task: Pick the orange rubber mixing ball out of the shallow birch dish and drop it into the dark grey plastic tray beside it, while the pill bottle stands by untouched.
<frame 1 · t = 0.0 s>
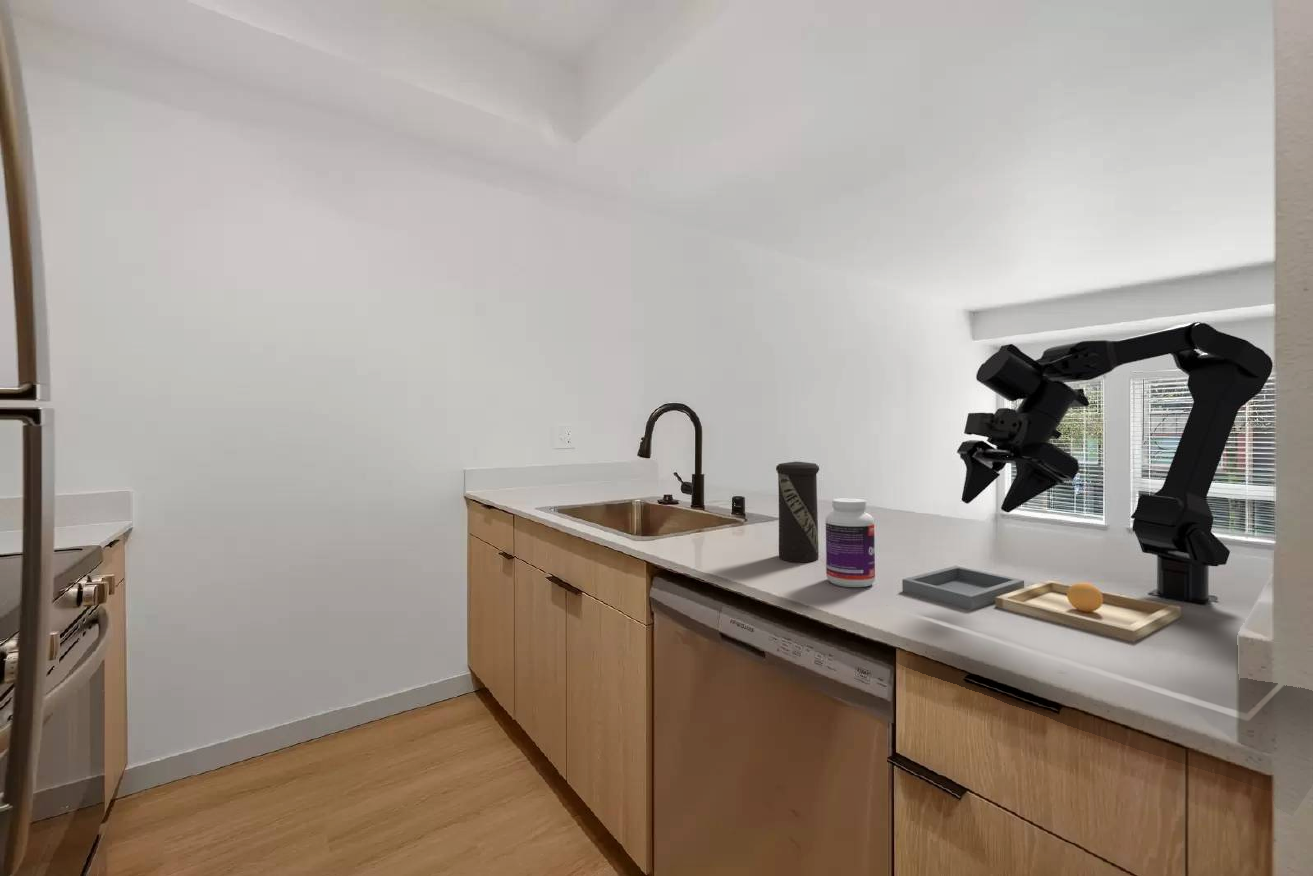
hand: (983, 506, 82), 15 cm above the countertop, tool tilted 35°, fingers open, 9 cm apart
dish: (1084, 614, 77), on the countertop
container: (798, 558, 113), on the countertop
pill bottle: (850, 583, 95), on the countertop
tray: (962, 594, 87), on the countertop
ball: (1084, 611, 77), resting on dish
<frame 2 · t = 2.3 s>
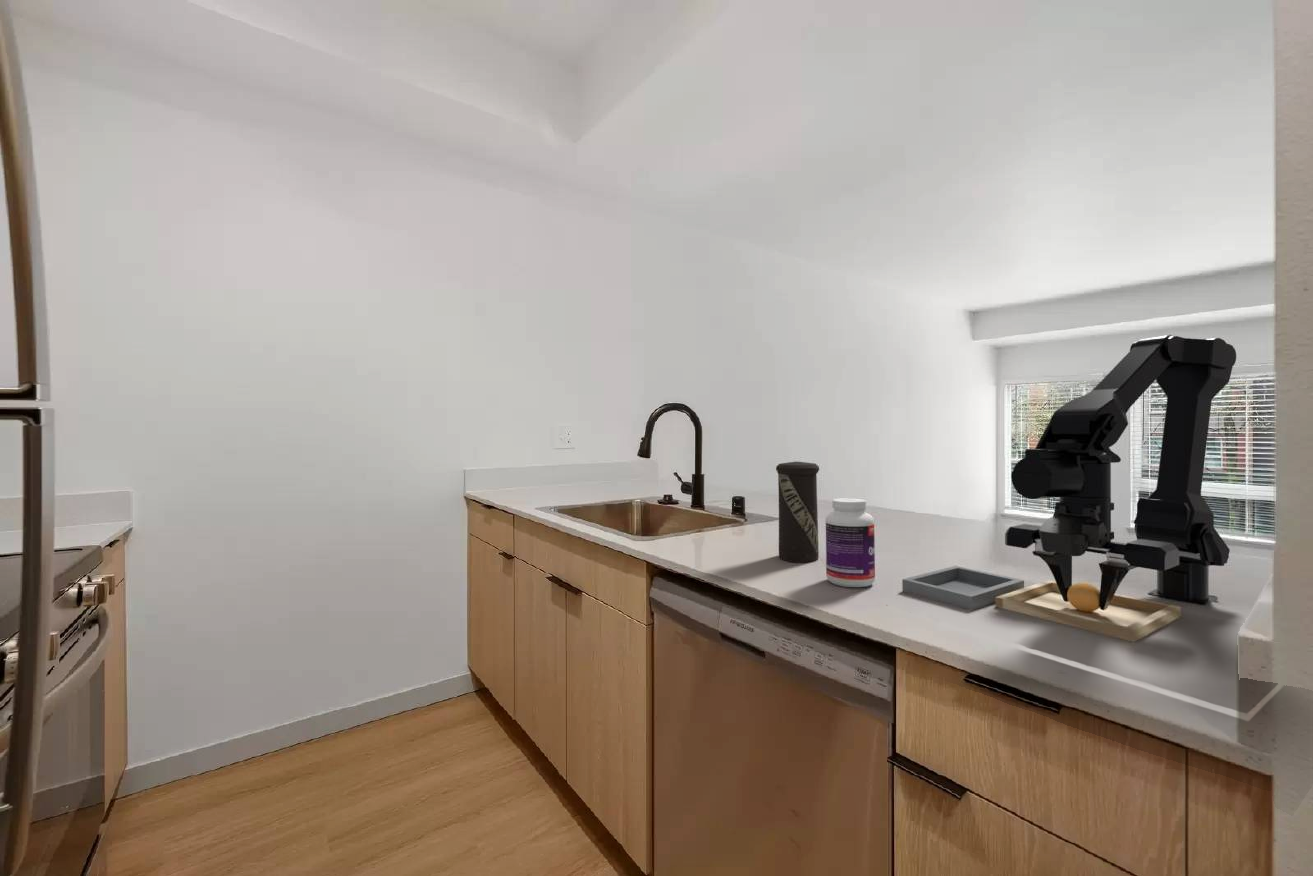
hand: (1084, 605, 77), 1 cm above the countertop, tool pointing down, fingers closed on ball, 4 cm apart
ball: (1084, 611, 77), resting on dish, touching gripper
everything else where it was.
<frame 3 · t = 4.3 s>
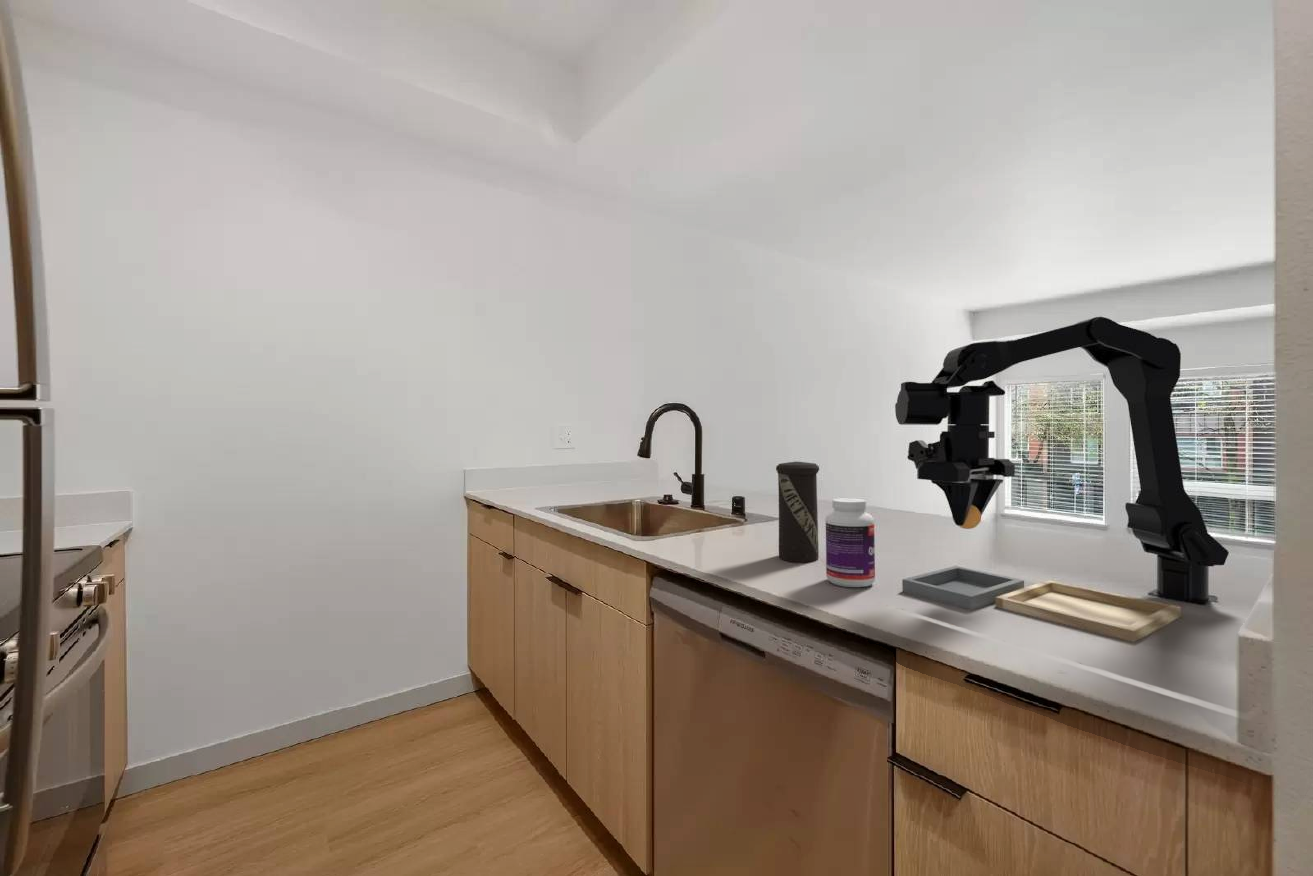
hand: (966, 523, 86), 11 cm above the countertop, tool pointing down, fingers closed on ball, 4 cm apart
ball: (966, 528, 86), point 11 cm above the countertop, touching gripper
everything else where it was.
when the fingers open (3 cm above the countertop, at t = 6.3 s): ball drops 2 cm, resting on tray.
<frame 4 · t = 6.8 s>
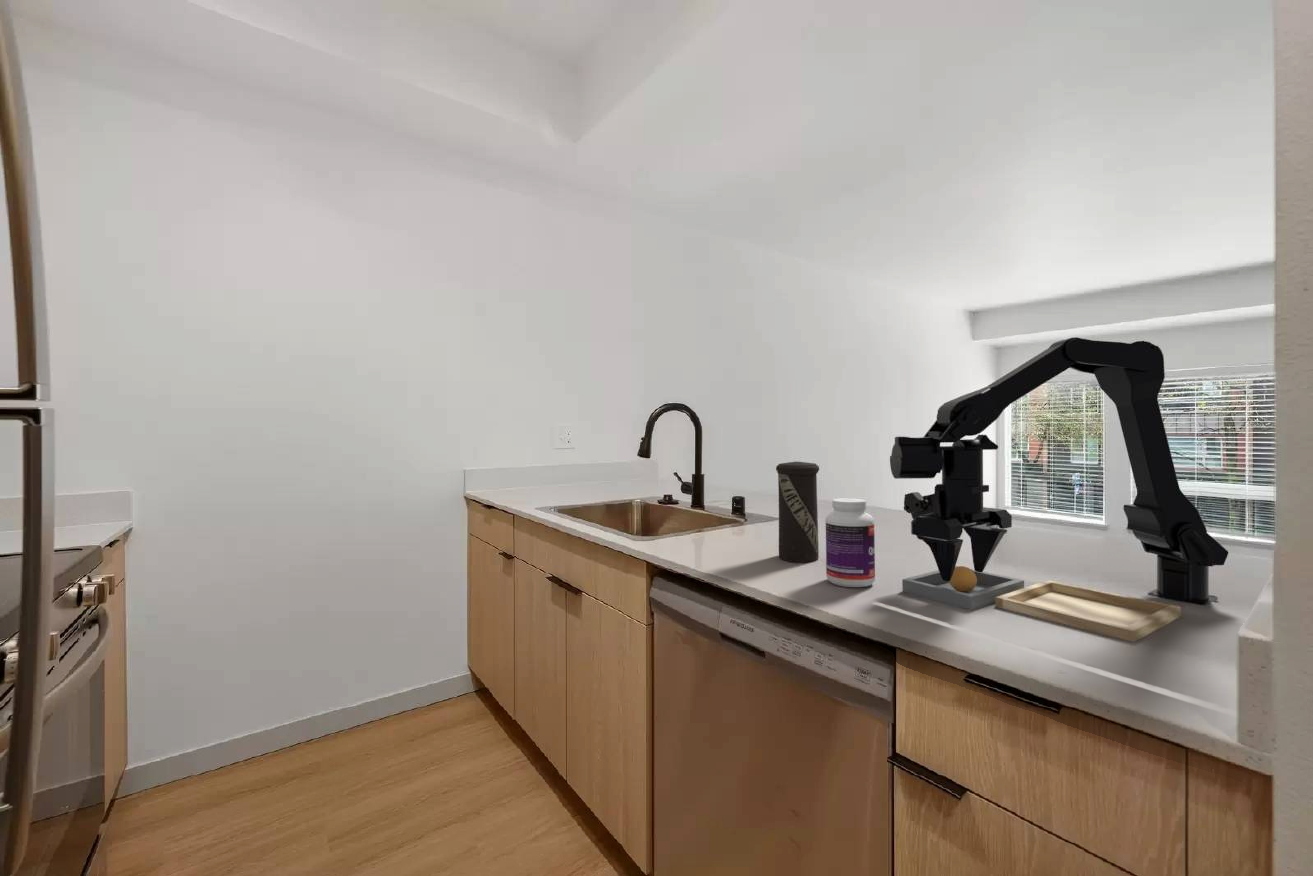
hand: (962, 576, 87), 3 cm above the countertop, tool pointing down, fingers open, 9 cm apart
ball: (962, 591, 87), resting on tray
everything else where it was.
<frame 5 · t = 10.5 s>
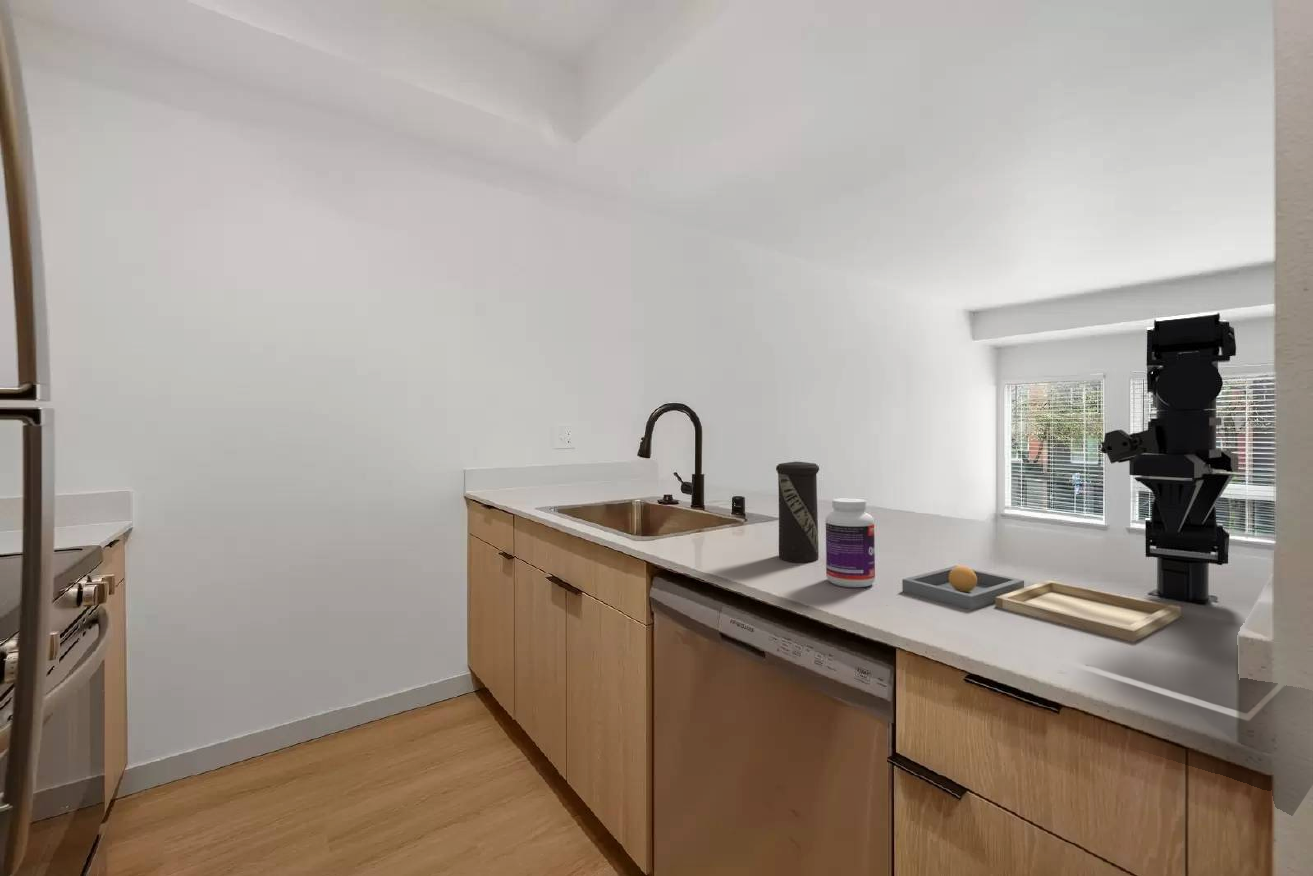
hand: (1185, 527, 73), 13 cm above the countertop, tool pointing down, fingers open, 9 cm apart
nothing on the countertop moved.
at the end: ball inside the target area on the tray (0.0 cm from its centre), point 0.5 cm above the tray's base; the gripper is holding nothing; ball touching tray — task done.
